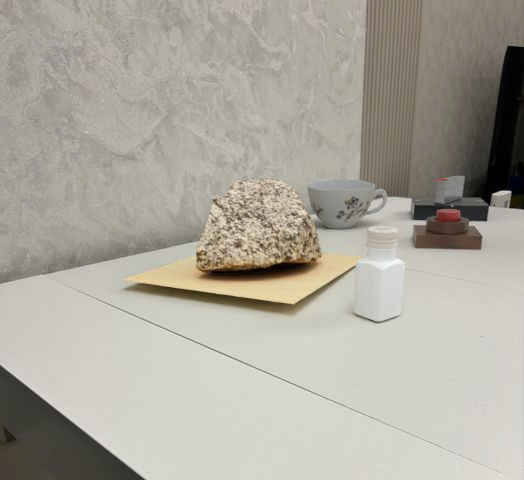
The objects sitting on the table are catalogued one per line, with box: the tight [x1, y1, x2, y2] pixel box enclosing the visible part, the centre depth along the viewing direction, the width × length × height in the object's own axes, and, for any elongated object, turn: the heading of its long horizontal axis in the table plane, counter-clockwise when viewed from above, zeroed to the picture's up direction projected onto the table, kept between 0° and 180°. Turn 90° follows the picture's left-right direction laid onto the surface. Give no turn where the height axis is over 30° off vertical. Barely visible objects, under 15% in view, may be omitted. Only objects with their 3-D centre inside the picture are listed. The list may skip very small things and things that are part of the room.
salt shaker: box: [353, 225, 406, 323], centre depth 58 cm, size 4×4×10 cm
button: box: [436, 209, 460, 222], centre depth 89 cm, size 4×4×2 cm
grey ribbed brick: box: [434, 175, 466, 204], centre depth 110 cm, size 9×2×5 cm, turn 139°
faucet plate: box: [409, 196, 490, 222], centre depth 112 cm, size 14×13×3 cm
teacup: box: [306, 178, 388, 230], centre depth 104 cm, size 15×12×8 cm
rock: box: [122, 178, 365, 305], centre depth 76 cm, size 28×22×16 cm
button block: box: [412, 216, 484, 251], centre depth 90 cm, size 10×8×4 cm
